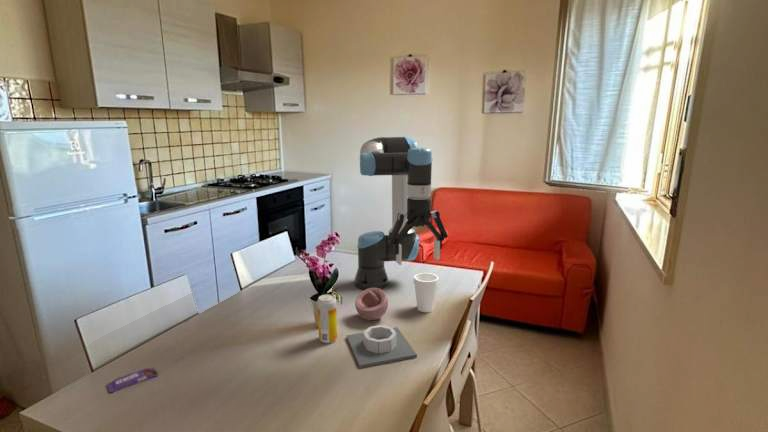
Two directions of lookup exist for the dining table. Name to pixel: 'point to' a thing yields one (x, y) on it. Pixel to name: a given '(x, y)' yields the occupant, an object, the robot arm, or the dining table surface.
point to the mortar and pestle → (371, 303)
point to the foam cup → (425, 291)
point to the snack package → (131, 379)
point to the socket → (380, 346)
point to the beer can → (327, 318)
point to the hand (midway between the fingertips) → (418, 261)
